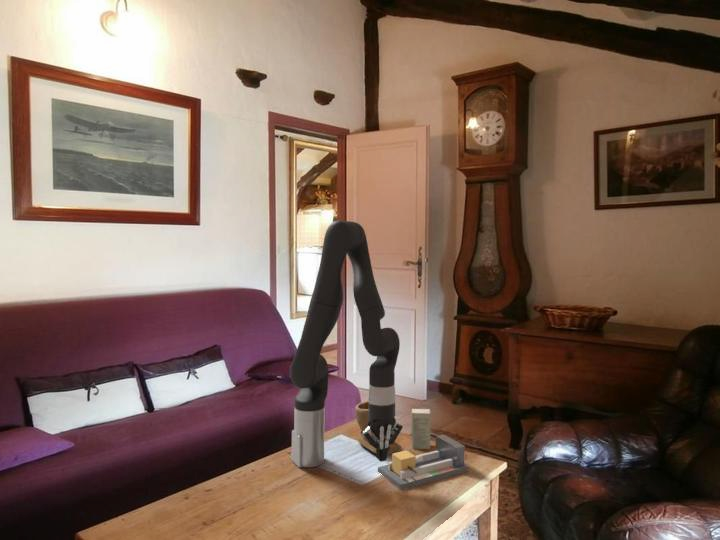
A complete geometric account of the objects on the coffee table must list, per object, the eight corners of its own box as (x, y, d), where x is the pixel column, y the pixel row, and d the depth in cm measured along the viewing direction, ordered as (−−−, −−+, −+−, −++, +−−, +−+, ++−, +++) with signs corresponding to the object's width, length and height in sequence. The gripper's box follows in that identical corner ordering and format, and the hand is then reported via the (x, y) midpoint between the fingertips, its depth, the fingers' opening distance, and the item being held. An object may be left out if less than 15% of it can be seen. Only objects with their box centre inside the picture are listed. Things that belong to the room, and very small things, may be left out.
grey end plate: (456, 467, 155) (457, 448, 154) (435, 454, 163) (436, 436, 163) (464, 465, 156) (464, 446, 156) (443, 452, 165) (443, 434, 164)
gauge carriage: (408, 482, 145) (409, 465, 144) (391, 469, 152) (392, 453, 152) (434, 475, 149) (435, 458, 149) (417, 463, 156) (417, 447, 156)
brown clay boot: (348, 442, 175) (348, 399, 174) (379, 436, 181) (380, 394, 179) (369, 460, 162) (370, 413, 161) (402, 453, 167) (403, 408, 166)
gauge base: (400, 490, 144) (400, 477, 144) (377, 472, 154) (378, 460, 154) (467, 471, 156) (468, 460, 155) (442, 455, 166) (442, 445, 166)
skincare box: (430, 444, 175) (431, 408, 174) (430, 450, 170) (431, 413, 169) (410, 443, 175) (411, 407, 174) (410, 448, 171) (411, 412, 170)
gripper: (394, 392, 152) (394, 450, 153) (354, 400, 146) (354, 460, 147) (409, 399, 146) (408, 460, 147) (368, 407, 139) (368, 470, 140)
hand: (381, 460), depth 147 cm, fingers closed
